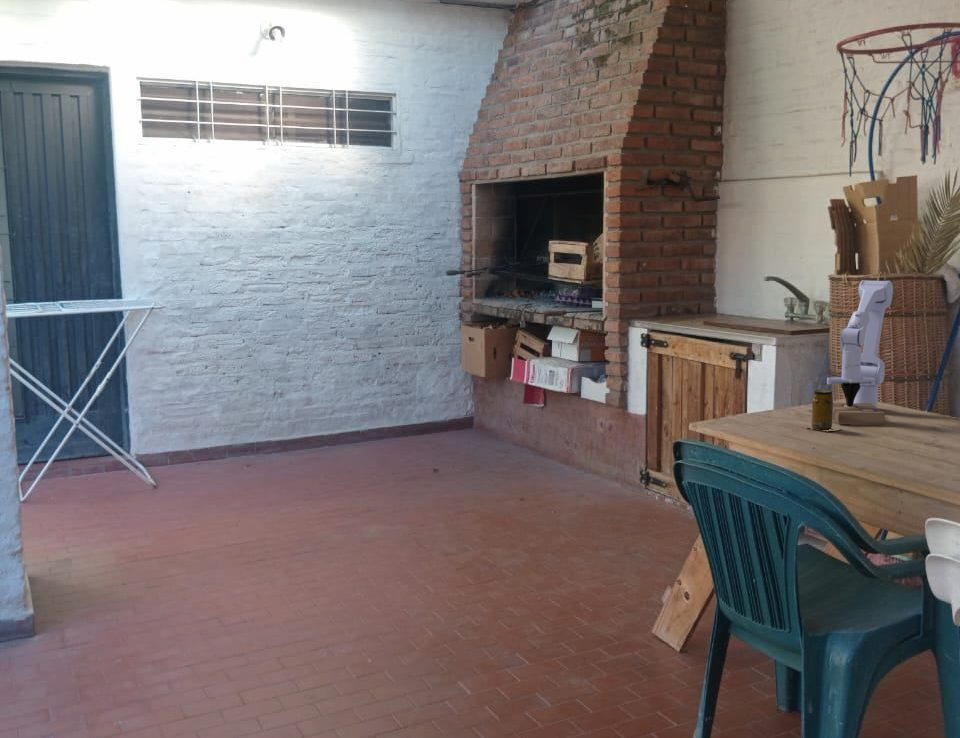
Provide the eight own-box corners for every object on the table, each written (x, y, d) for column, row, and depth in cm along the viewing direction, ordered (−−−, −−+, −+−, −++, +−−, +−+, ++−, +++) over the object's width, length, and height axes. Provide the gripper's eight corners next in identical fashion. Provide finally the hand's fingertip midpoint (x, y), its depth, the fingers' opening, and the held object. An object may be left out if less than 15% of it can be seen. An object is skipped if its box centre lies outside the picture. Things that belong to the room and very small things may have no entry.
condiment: (818, 425, 315) (819, 388, 314) (842, 429, 309) (844, 391, 307) (805, 428, 311) (806, 391, 309) (829, 433, 304) (831, 394, 303)
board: (826, 414, 332) (827, 402, 331) (870, 415, 330) (870, 403, 330) (838, 424, 316) (838, 412, 316) (884, 425, 315) (884, 412, 314)
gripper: (831, 366, 321) (829, 408, 323) (878, 366, 319) (876, 408, 321) (826, 363, 327) (824, 404, 329) (871, 363, 326) (869, 404, 328)
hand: (849, 406), depth 326 cm, fingers closed, pressing on peg
